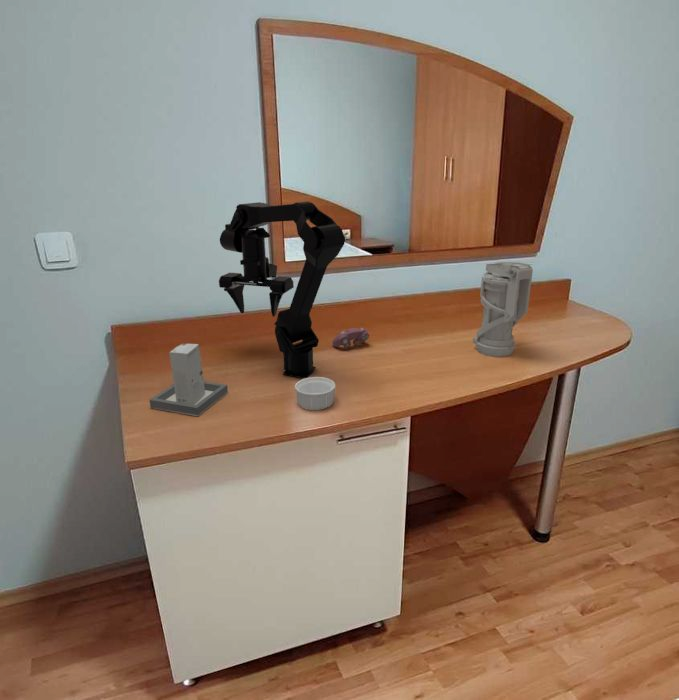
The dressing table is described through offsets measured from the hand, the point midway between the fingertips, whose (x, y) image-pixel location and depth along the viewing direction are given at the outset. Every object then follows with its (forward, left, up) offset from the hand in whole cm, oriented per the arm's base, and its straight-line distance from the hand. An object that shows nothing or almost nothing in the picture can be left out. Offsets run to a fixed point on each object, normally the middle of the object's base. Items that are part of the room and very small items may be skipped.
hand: (258, 314), depth 134 cm
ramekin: (-24, +20, -12) cm, 34 cm away
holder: (+3, +28, -12) cm, 31 cm away
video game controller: (-21, -15, -12) cm, 28 cm away
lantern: (-60, -24, -12) cm, 66 cm away
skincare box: (+3, +28, -12) cm, 30 cm away
